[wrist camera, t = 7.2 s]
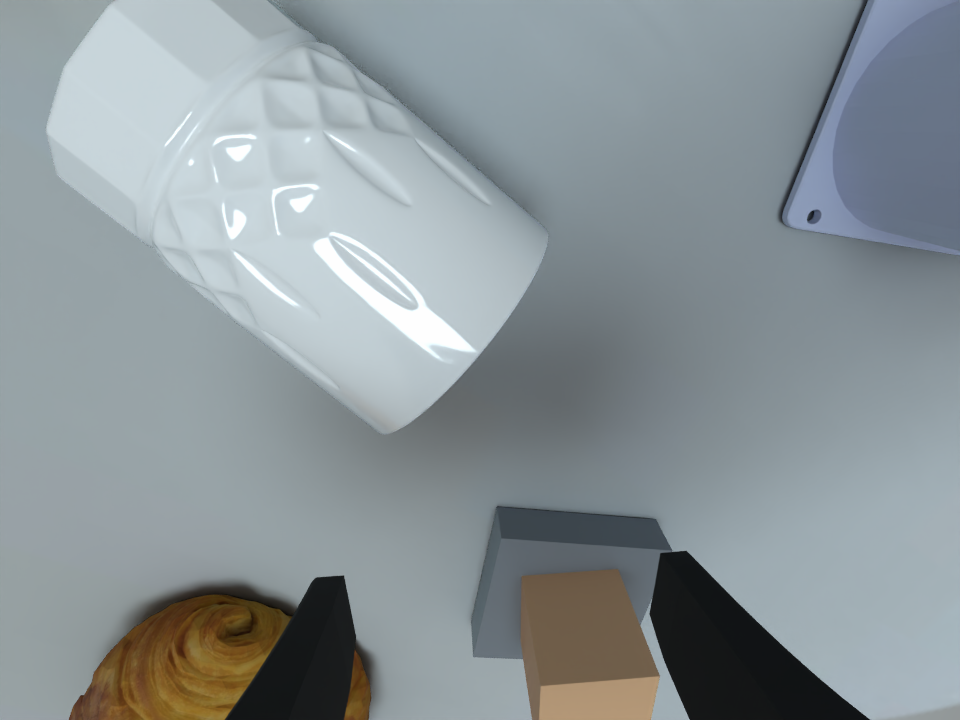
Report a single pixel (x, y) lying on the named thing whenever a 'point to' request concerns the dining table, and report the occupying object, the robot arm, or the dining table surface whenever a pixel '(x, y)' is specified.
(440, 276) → the white cup
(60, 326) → the dining table surface
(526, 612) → the tan rectangular block
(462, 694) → the dining table surface
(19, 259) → the dining table surface
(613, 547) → the slate coaster
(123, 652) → the croissant
